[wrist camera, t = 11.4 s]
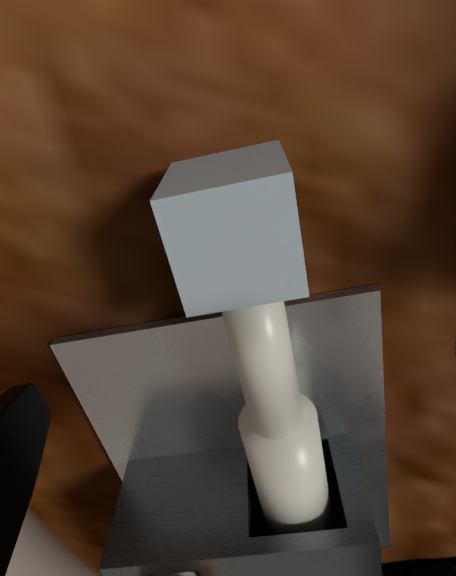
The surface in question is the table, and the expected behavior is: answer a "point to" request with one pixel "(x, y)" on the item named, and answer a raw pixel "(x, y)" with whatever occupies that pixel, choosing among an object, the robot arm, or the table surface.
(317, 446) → the cube-topped plunger
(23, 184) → the table surface
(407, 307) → the table surface
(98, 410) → the grey slotted base
